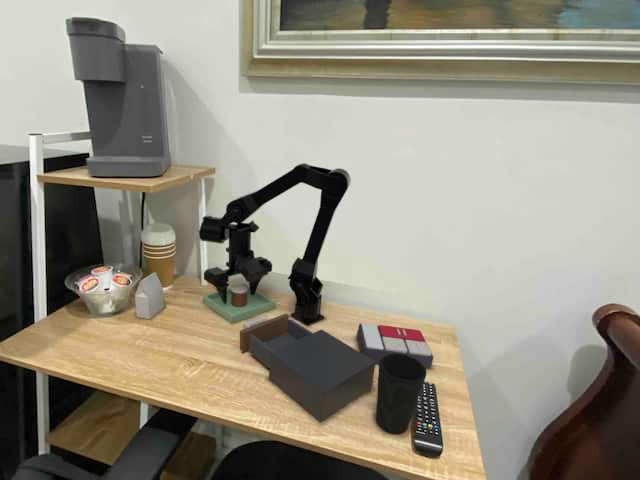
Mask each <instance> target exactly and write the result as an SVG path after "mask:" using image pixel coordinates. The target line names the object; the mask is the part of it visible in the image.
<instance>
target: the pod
mask: <svg viewBox="0 0 640 480" xmlns="http://www.w3.org/2000/svg"><path fill="white" fill-rule="evenodd" d="M241 285H242V284H239V285H233V286H231V287H230V288H231V305H232V306H234V307H244V306H246V305H247V290H248V289H247V287H245V286H241Z"/></svg>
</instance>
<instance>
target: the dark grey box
mask: <svg viewBox="0 0 640 480" xmlns="http://www.w3.org/2000/svg"><path fill="white" fill-rule="evenodd" d="M376 365H377V364H376V362H375V361H374V360H372V359H370V358H369V357H367V356H365V355H364V354H362V353H360V350H357V349H355V348H353V347H352V346H350V345H349V344H347V343H345V342H344V341H343V340H340V339H338V338H337V337H335V336H333V335H332V334H331V333H328V331H325V330H323V328H322V329H319V330H316V331H315V332H312V334H310V335H308V336H306V337H303V338H301V339H299V340H297V341H294V342H292V343H290V344H288V345H285V346H283V347H281V348H279V349H276V350H274V351H272V352H270V368H268V369H269V371H268V380H269V381H270V382H271V383H272V384H273V385H275V386H276V387H277V388H278V389H280V391H282V392H283V393H284V394H285V395H286V396H288V397H289V398H290V399H291V400H293V401H294V402H295V403H296V404H298V405H299V406H300V407H301V408H302V409H304V410H305V411H306V412H307V413H308V414H310V416H312V417H313V418H314V419H315V420H316V421H318V422H319V423H323V422H324V421H325V420H327V419H328V418H330V417H332V416H333V415H336V413H338V412H339V411H341V410H343V409H344V408H346V407H347V406H349V405H350V404H351V403H353V402H354V401H356V400H358V399H359V398H361V397H363V395H365V394H366V393H368V392H370V391H371V390H372V387H373V382H374V376H375V369H376Z"/></svg>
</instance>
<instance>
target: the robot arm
mask: <svg viewBox="0 0 640 480" xmlns="http://www.w3.org/2000/svg"><path fill="white" fill-rule="evenodd" d="M351 182H352V179H351V176H350V174H349V172H348V171H347V170H345V169H343V168H334V169H329V168H325V167H320V166H316V165H315V166H314V165H310V164H308V163H305V162H303V163H302V162H301V163H299V164H297V165H295V166H294V167H293V168H292V169H291V170H289V171H288V172H286V173H285V174H283V175H281V176H279V177H278V178H276V179H274V180H273V181H271V182H270V183H267V184H266V185H265V186H262V187H261V188H260V189H258V190H255V191H252V192H249V193H247V194H243V195H241V196H239V197H237V198H235V199H232V200H231V201H229V203H227V205H226V206H225V207H226V208H225V213H224V214H223V216H222V217H217V216H212V215H208V214H207V215H205V216H203V217H202V222H201V225H200V226H199V227H200V228H199V231H198V237H199V239H200V241H202V242H207V243H208V242H209V243H213V244H214V243H215V244H224V243H225V241H228V247H225V252H226V253H228V261H226V262H225V267H227V268H228V269H222V268H221V267H219V266H216V267H215V266H214V267H212V268H208V269H205V271H204V272H203V280H204V281H206V282H207V283H208V284H210V285H211V286H212V287H215V289H216V292H218V293H219V295H220V297H221V299H222V302H223V303H224V304H226V302H227V289H228V287H229V286H230V284H229V283H228V282H229V280H230V279H229V277H233V276H237V275H240V274H241V276H242V277H243V278H244V279H245V281H246V282H247V283H248V284H249V285H248V286H249V287H250V293H251V295H254V294H255V291H257V289H258V287H259V284H260V282H261V281H262V279H263V278H264V277H265V276H267V275H269V273H270V272H273V264H272V262H271V260H268V258H265V257H262V256H257V257H255V252H254V250H253V249H252V233H256V232H257V231H259V230H260V226H259V225H258V224H256V222H255V221H254V220H251V221H250V222H245V221H247V219H249V218H250V217H252V216H253V215H254V214H256V213H257V211H259V210H260V209H261V208H262V207H263V206H264V205H266V204H267V203H268V202H271V201H272V200H273V199H275V198H277V197H278V196H280V195H282V194H284V193H285V192H287V191H289V190H291V189H292V188H294V187H296V186H297V185H300V184H305V185H308V186H309V187H312V188H315V189H317V190H320V200H319V202H320V203H319V208H318V212H317V214H316V217H315V221H314V223H313V227H312V229H311V232H310V234H309V238H308V241H307V244H306V247H305V250H304V253H303V255H302V258H301V257H297V258H296V259H295V261H294V262H293V263H292V266H291V270H290V271H291V272H290V274H289V275H288V277H287V280H289V282H288V285H289V286H288V287H289V288H290V289H291V291H292V292H293V293H294V295H295V300H296V301H295V303H294V311H293V312H291V313H290V316H291V317H292V318H294V319H296V320H297V321H299V322H301V323H302V324H304V325H306V326H310V325H312V324H314V323H316V322H319V321H321V320H324V319H325V316H324V315H322V314H321V309H322V298H323V295H322V294H321V293H322V291H323V288H324V284H323V282H321V280H320V278H318V276H317V274H318V267H319V258H320V255H321V252H322V249H323V247H324V244H325V242H326V238H327V235H328V233H329V230H330V227H331V224H332V221H333V218H334V216H335V213H336V210H337V208H338V206H339V205H340V203H341V201H342V200H343V198H344V197H345V195H346V193H347V191H348V189H349V187H350V186H351Z"/></svg>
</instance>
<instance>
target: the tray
mask: <svg viewBox="0 0 640 480" xmlns="http://www.w3.org/2000/svg"><path fill="white" fill-rule="evenodd" d="M240 285H241V286H245V287H247V289H248V290H247V305H246V306H244V307H234V306H232V305H231V288H232V287H229V288H228V287H227V302H226V304H224V303H223V302H222V299H221V297H220V295H219V293H218V291H215V292H211V293H207V294H204V295H203V296H202V302H203V303H204V304H205V305H206V306H207V307H209V308H210V309H212V310H213V311H214V312H216V313H217V314H218V315H220V316H221V317H222V318H223V319H225V320H226V321H228V322H229V323H230V324H235V323H237V322H240V321H243V320H245V319H248V318H252V317H254V316H256V315H259V314H262V313H265V312H268V311H271V310H274V309H276V301H275V300H273V299H271V298H270V297H268V296H266V295H264V294H263V293H261V292H259V291H258V290H256V291H255V294H254V295H251V293H250V286H249V285H248V284H247V283H242V284H240Z"/></svg>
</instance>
